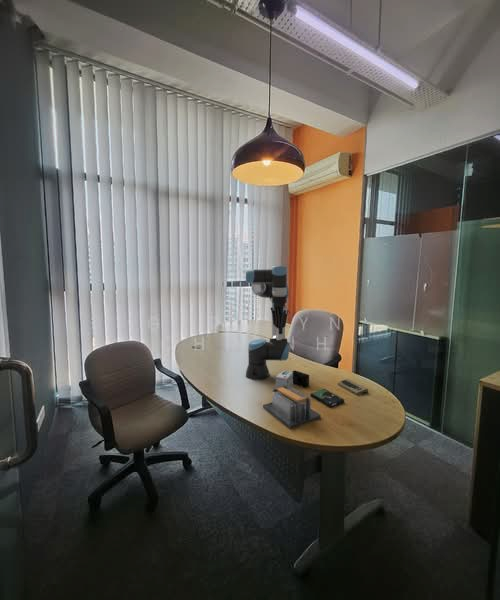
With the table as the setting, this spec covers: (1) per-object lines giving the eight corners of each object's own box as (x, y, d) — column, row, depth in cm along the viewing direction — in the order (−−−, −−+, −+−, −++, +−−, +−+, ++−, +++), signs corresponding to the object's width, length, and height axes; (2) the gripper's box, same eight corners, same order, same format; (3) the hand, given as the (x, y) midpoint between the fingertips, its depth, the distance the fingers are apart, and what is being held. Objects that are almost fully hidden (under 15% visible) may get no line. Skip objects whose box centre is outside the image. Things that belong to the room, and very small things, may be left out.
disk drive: (344, 404, 144) (324, 393, 156) (344, 399, 143) (324, 388, 156) (330, 409, 139) (309, 397, 151) (330, 404, 138) (310, 392, 151)
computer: (337, 385, 166) (337, 380, 166) (348, 383, 169) (348, 378, 169) (356, 396, 152) (357, 390, 151) (368, 393, 155) (368, 388, 155)
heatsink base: (262, 407, 139) (262, 387, 138) (291, 399, 148) (291, 380, 147) (290, 429, 121) (290, 406, 119) (320, 418, 129) (321, 396, 128)
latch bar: (276, 390, 141) (275, 387, 141) (282, 389, 143) (282, 385, 143) (299, 403, 125) (299, 400, 125) (306, 401, 127) (306, 398, 127)
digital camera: (289, 383, 169) (289, 372, 168) (294, 381, 173) (294, 370, 172) (303, 388, 161) (303, 377, 161) (308, 386, 165) (309, 374, 164)
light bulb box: (282, 387, 163) (282, 370, 162) (293, 390, 160) (293, 372, 158) (275, 395, 153) (275, 376, 152) (286, 397, 150) (286, 378, 149)
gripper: (266, 294, 149) (266, 337, 151) (281, 297, 137) (280, 343, 140) (277, 294, 152) (277, 335, 155) (292, 296, 141) (292, 341, 144)
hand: (279, 339), depth 148 cm, fingers closed
